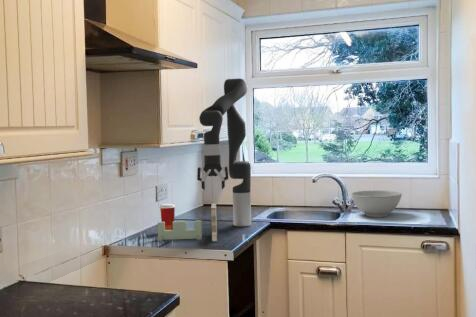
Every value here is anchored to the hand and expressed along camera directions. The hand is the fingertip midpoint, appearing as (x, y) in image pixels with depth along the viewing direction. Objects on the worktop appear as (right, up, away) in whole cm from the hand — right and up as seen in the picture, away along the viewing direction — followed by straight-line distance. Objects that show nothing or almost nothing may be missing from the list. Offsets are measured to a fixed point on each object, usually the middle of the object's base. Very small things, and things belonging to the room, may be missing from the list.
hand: (213, 189), depth 239 cm
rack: (-15, -23, +1) cm, 28 cm away
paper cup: (-23, -22, +16) cm, 36 cm away
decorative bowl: (+88, -17, +48) cm, 102 cm away
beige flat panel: (+1, -22, +1) cm, 23 cm away
